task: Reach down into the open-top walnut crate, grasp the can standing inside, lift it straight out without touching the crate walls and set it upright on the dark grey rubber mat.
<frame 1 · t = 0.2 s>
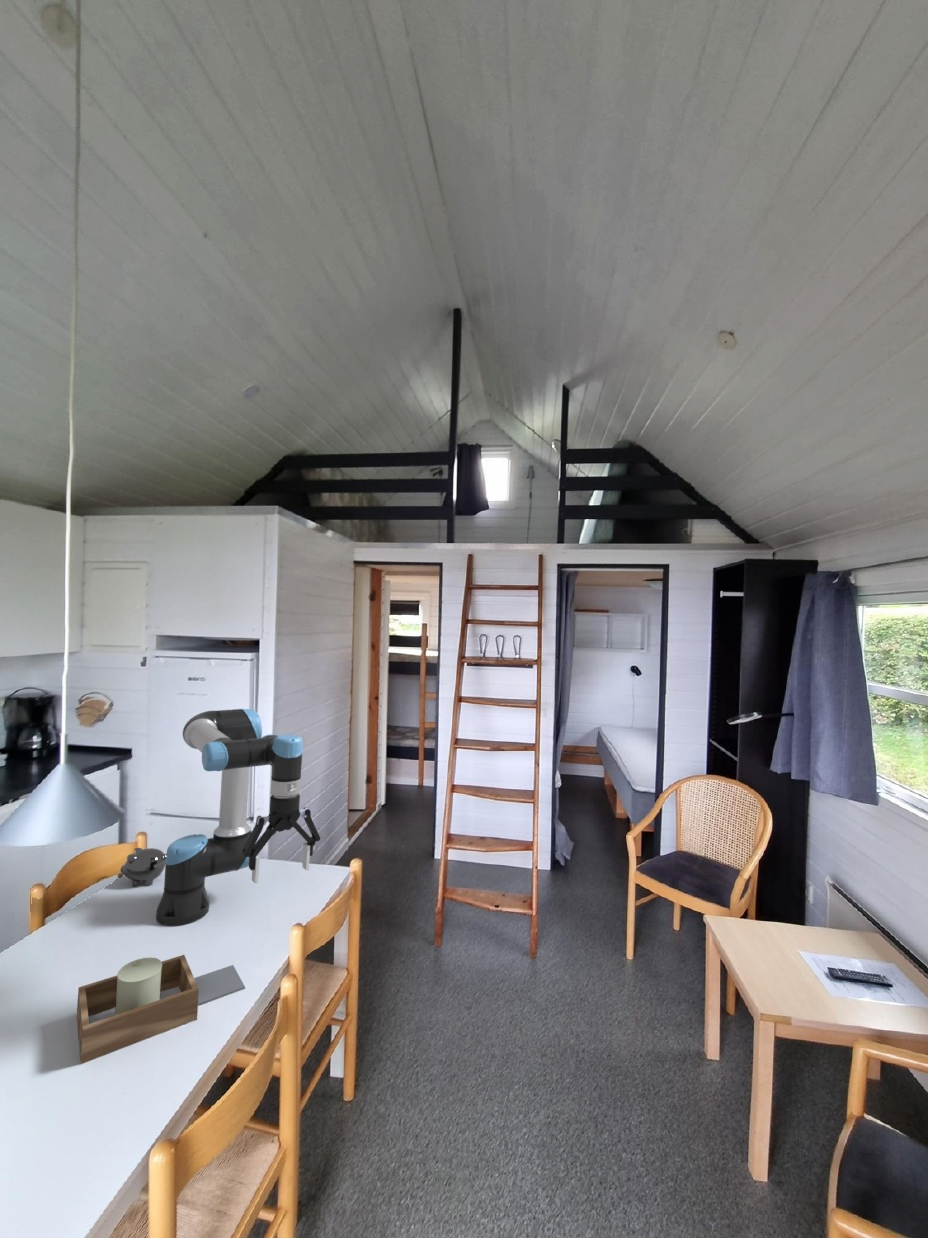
hand: (280, 875, 141), 28 cm above the table, fingers open, 13 cm apart
piggy bank: (143, 882, 189), on the table
crate: (137, 1018, 125), on the table
mat: (216, 985, 137), on the table
can: (137, 1019, 125), resting in crate
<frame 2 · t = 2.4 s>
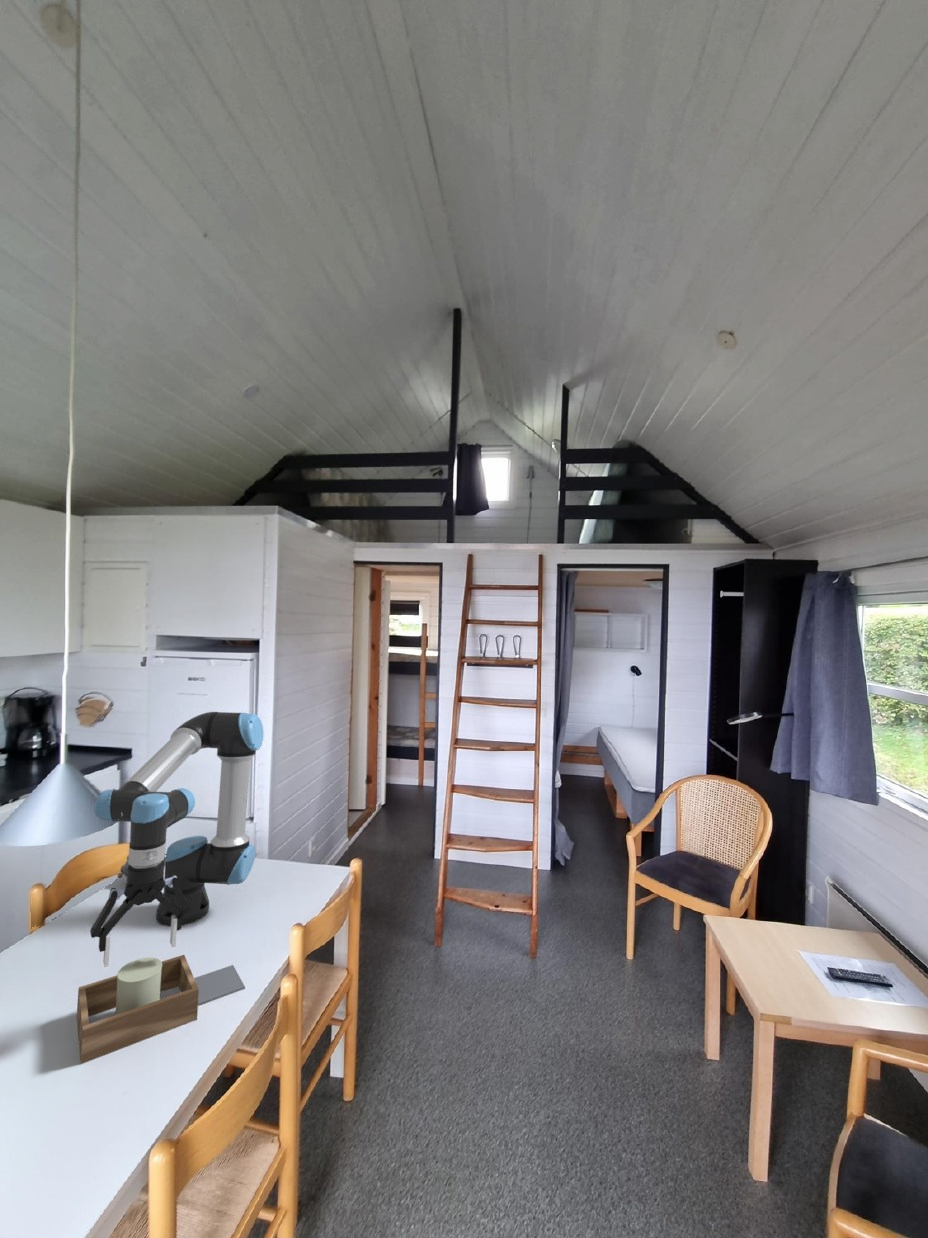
hand: (140, 954, 125), 15 cm above the table, fingers open, 13 cm apart
nothing on the table moved.
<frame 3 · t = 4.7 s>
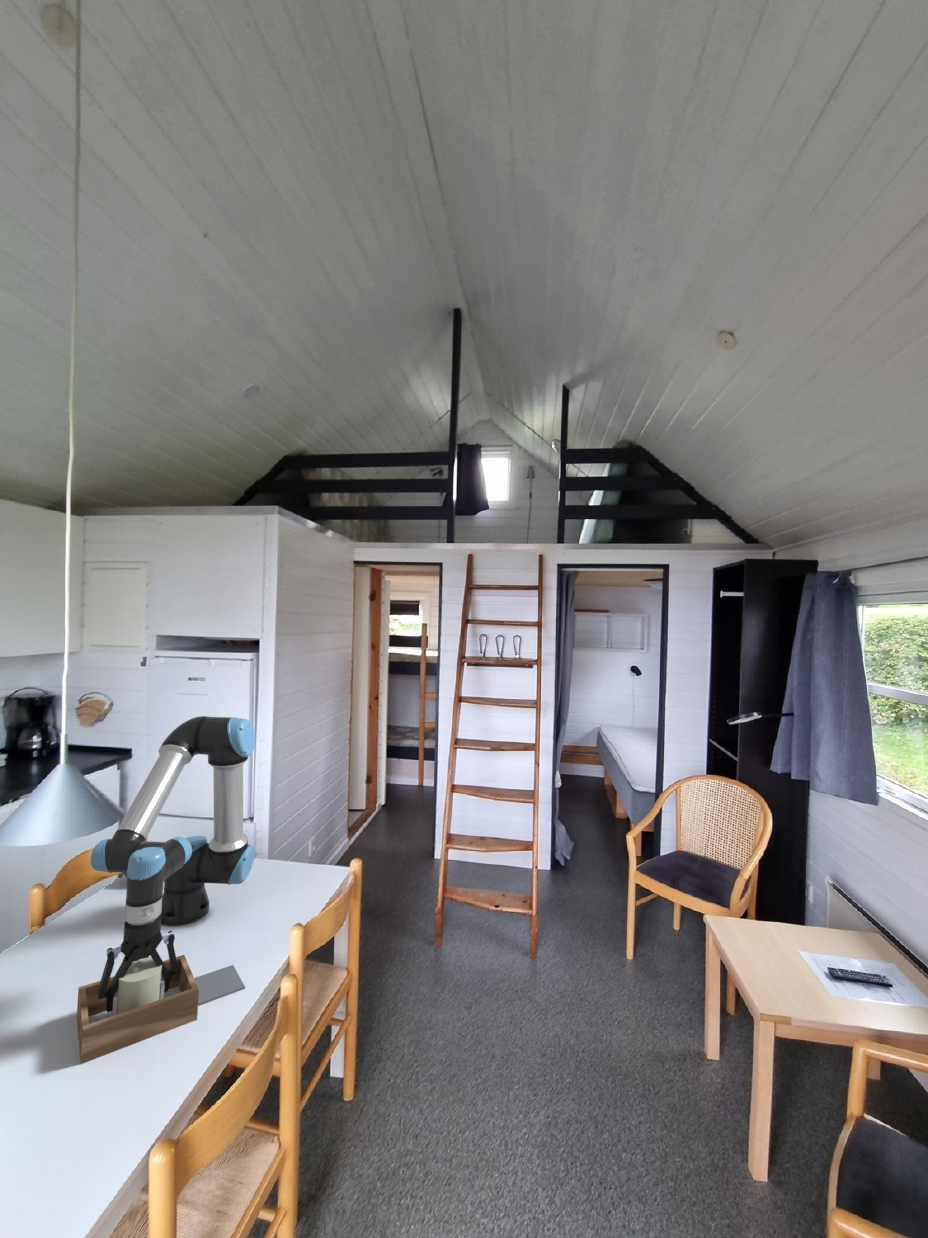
hand: (137, 1014, 125), 1 cm above the table, fingers closed on can, 9 cm apart
can: (136, 1019, 125), resting in crate, touching gripper
everything else where it was.
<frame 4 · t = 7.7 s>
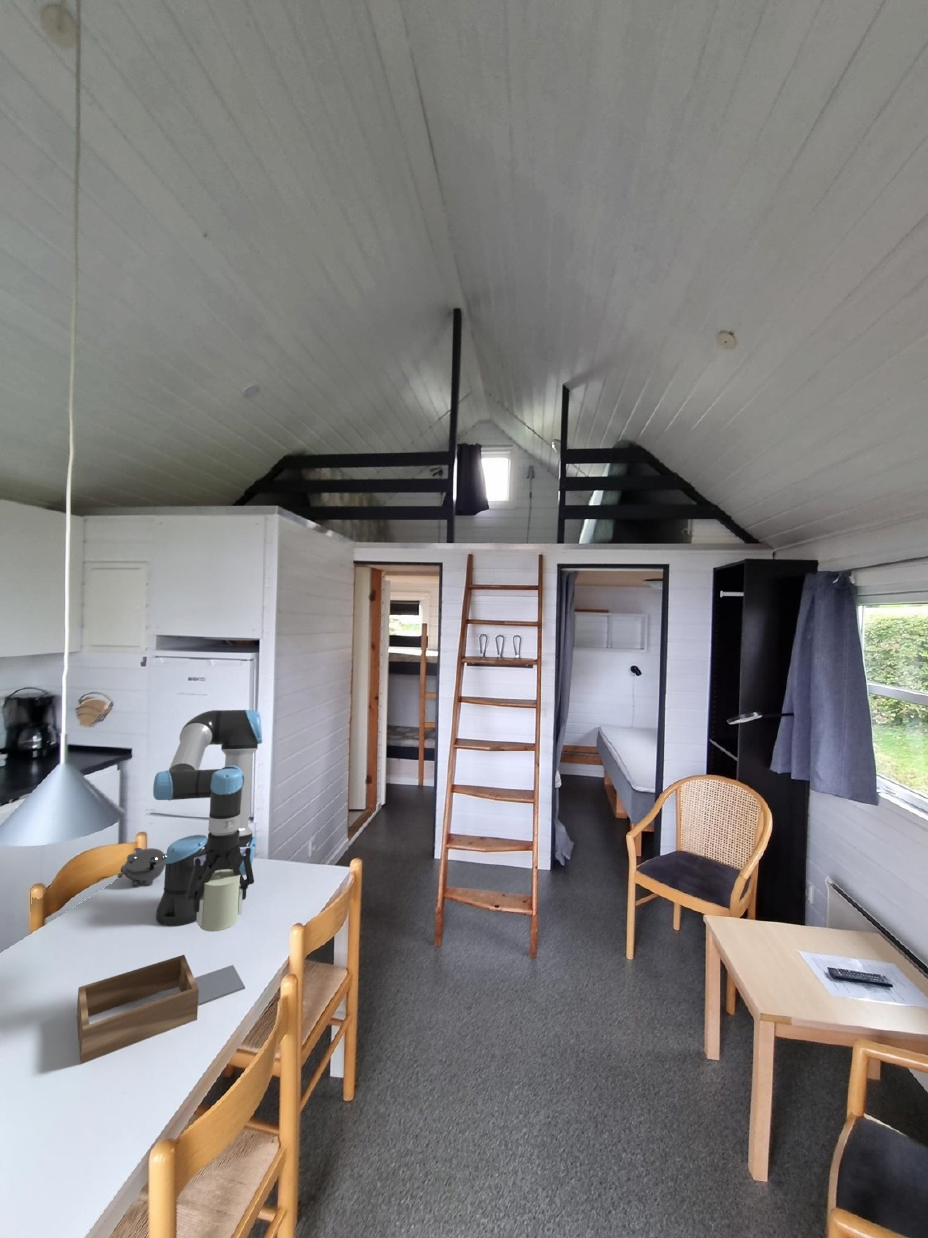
hand: (219, 917, 138), 17 cm above the table, fingers closed on can, 9 cm apart
can: (218, 922, 138), point 16 cm above the table, touching gripper
everything else where it was.
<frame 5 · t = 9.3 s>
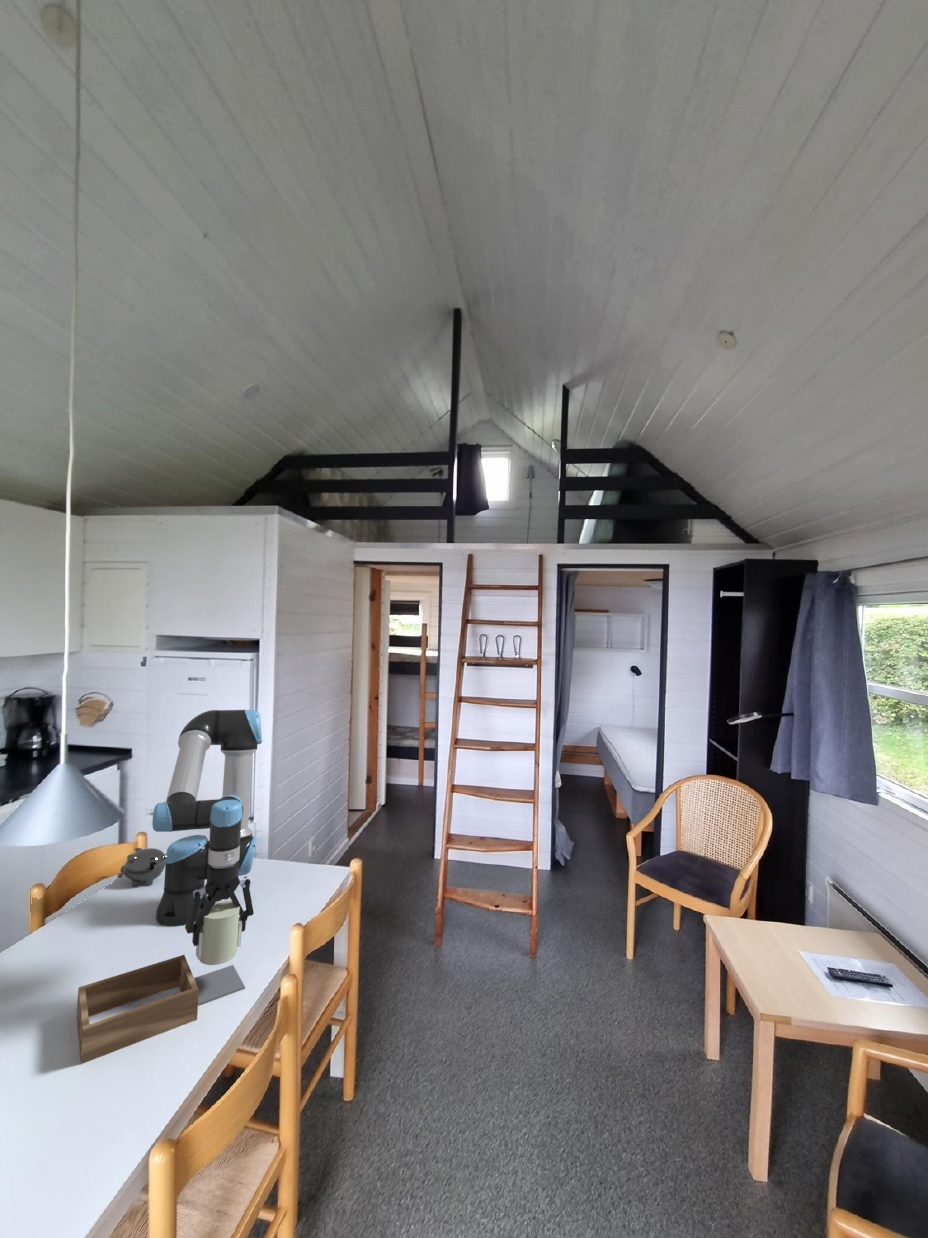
hand: (218, 950, 138), 9 cm above the table, fingers closed on can, 9 cm apart
can: (218, 955, 137), point 8 cm above the table, touching gripper
everything else where it was.
when the fingers open (3 cm above the table, at t = 10.9 s): can drops 1 cm, resting on mat.
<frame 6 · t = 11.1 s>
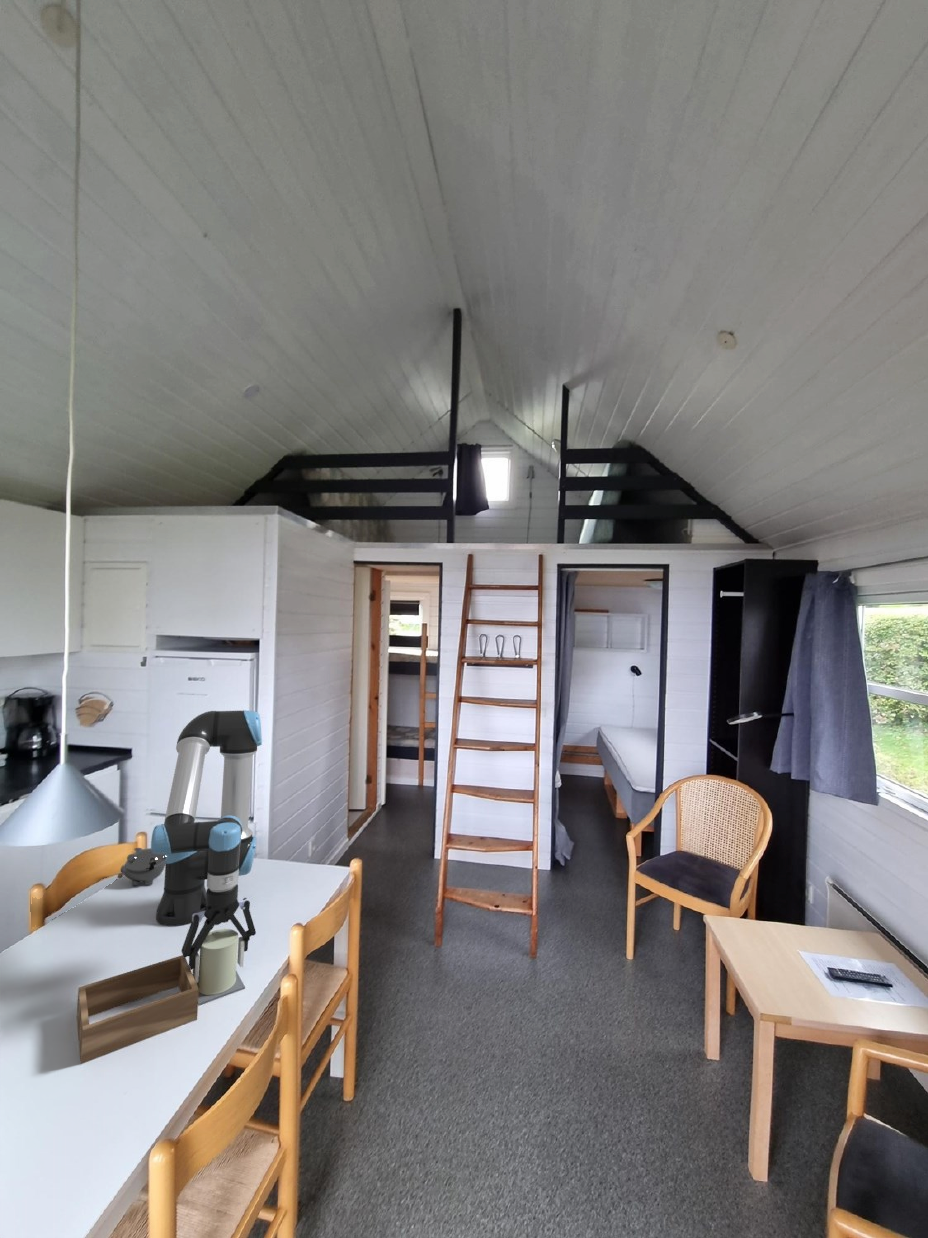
hand: (218, 972, 138), 3 cm above the table, fingers open, 10 cm apart
can: (216, 984, 137), resting on mat
everything else where it was.
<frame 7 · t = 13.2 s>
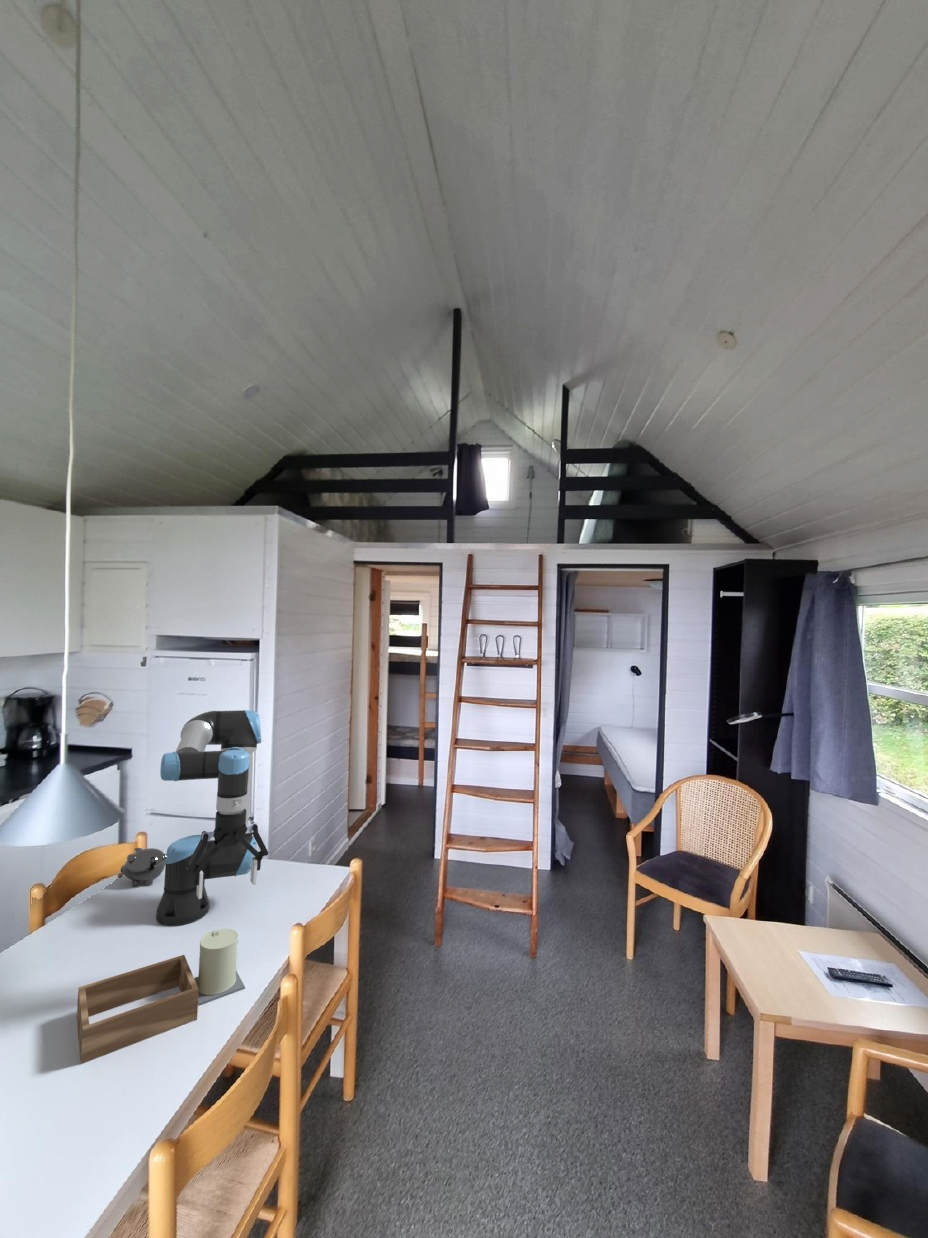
hand: (226, 889, 141), 23 cm above the table, fingers open, 13 cm apart
nothing on the table moved.
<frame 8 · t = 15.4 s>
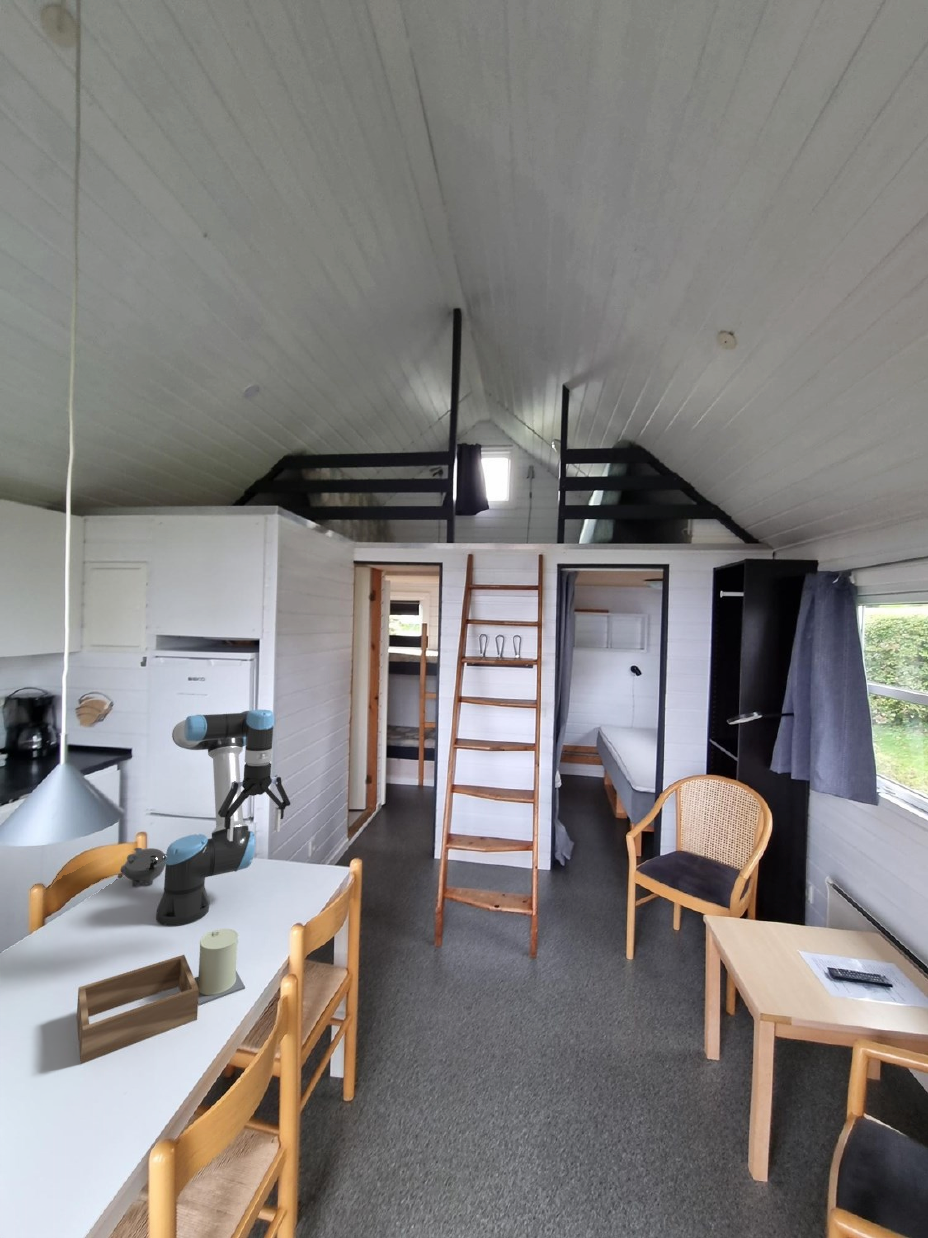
hand: (254, 835, 157), 32 cm above the table, fingers open, 13 cm apart
nothing on the table moved.
at the end: can inside the target area on the mat (0.0 cm from its centre), point 0.2 cm above the mat's base; can tilted 0°; the gripper is holding nothing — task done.
